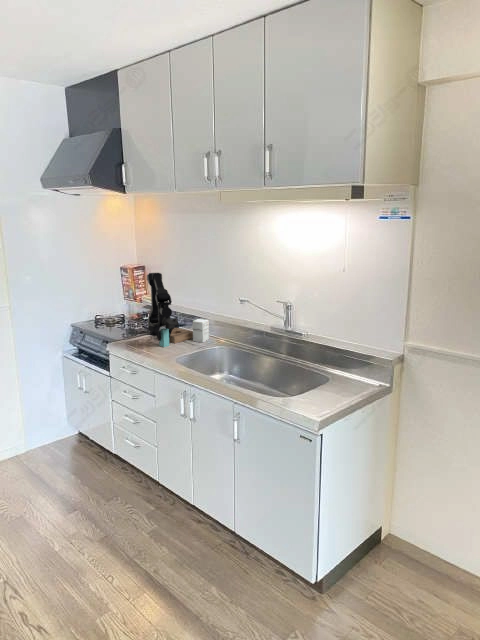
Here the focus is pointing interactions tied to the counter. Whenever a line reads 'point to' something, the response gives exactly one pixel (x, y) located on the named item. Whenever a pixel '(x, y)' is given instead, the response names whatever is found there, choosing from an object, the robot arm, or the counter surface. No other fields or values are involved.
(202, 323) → the supplement box
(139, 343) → the counter surface
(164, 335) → the teal peg
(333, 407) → the counter surface
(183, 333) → the walnut socket
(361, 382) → the counter surface
